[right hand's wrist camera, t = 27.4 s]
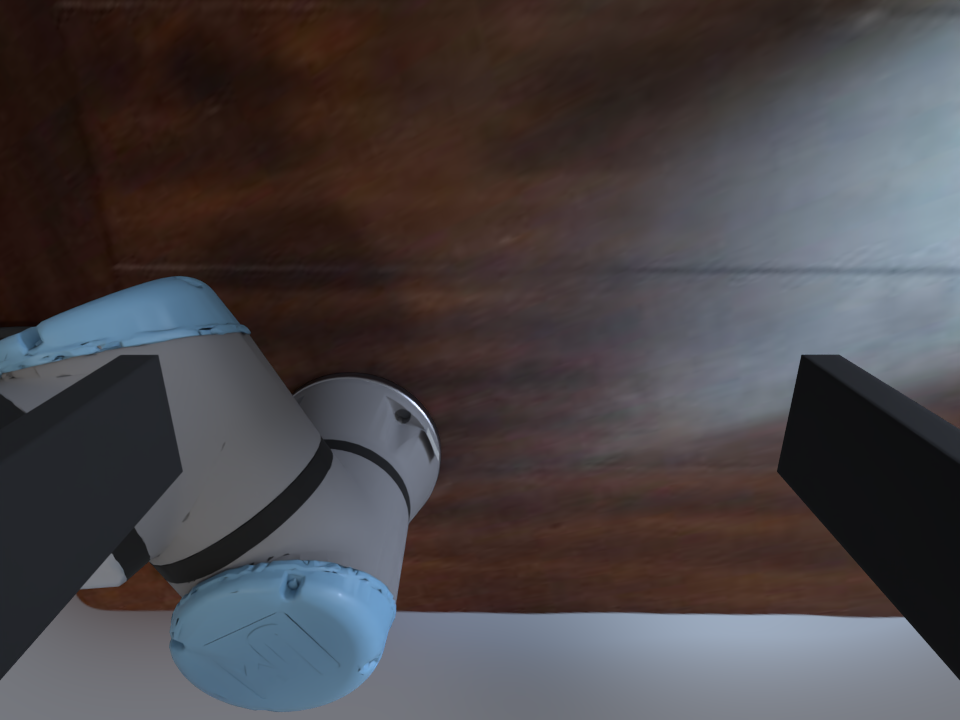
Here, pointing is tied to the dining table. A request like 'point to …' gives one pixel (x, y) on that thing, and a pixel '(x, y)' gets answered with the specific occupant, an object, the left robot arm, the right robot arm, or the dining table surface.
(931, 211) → the dining table surface
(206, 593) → the right robot arm
